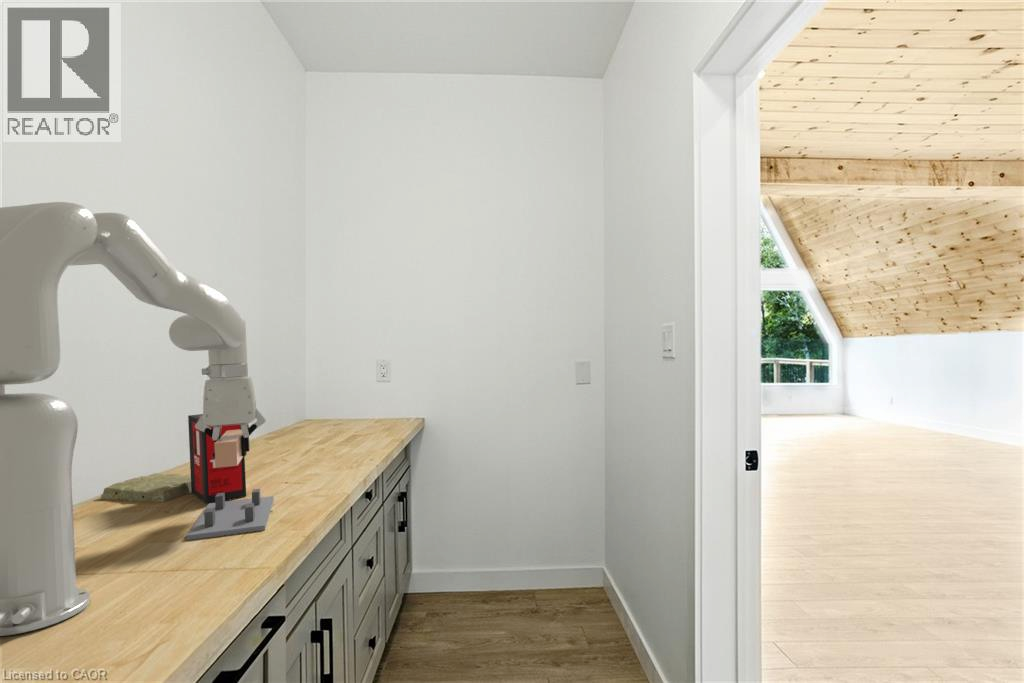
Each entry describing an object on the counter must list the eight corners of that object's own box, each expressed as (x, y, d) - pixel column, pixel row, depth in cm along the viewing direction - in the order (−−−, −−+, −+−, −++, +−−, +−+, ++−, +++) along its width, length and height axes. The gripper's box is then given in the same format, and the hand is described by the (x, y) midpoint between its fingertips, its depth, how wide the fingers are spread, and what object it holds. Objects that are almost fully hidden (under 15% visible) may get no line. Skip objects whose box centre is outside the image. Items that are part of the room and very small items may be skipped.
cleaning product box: (246, 496, 145) (242, 416, 144) (206, 504, 139) (203, 420, 139) (228, 485, 157) (225, 411, 157) (191, 492, 151) (188, 415, 151)
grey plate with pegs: (264, 530, 117) (264, 510, 117) (186, 540, 113) (186, 520, 113) (273, 500, 140) (272, 483, 140) (209, 507, 136) (208, 490, 136)
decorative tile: (154, 484, 165) (153, 471, 165) (215, 485, 160) (215, 472, 160) (94, 502, 146) (93, 488, 146) (162, 504, 142) (161, 490, 142)
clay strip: (237, 465, 119) (236, 441, 119) (215, 467, 117) (214, 443, 117) (247, 450, 136) (246, 428, 136) (228, 451, 134) (227, 430, 134)
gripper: (181, 375, 120) (185, 464, 120) (268, 371, 125) (272, 455, 126) (189, 373, 127) (193, 457, 127) (271, 369, 132) (275, 449, 133)
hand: (232, 455), depth 126 cm, fingers closed on clay strip, 4 cm apart
